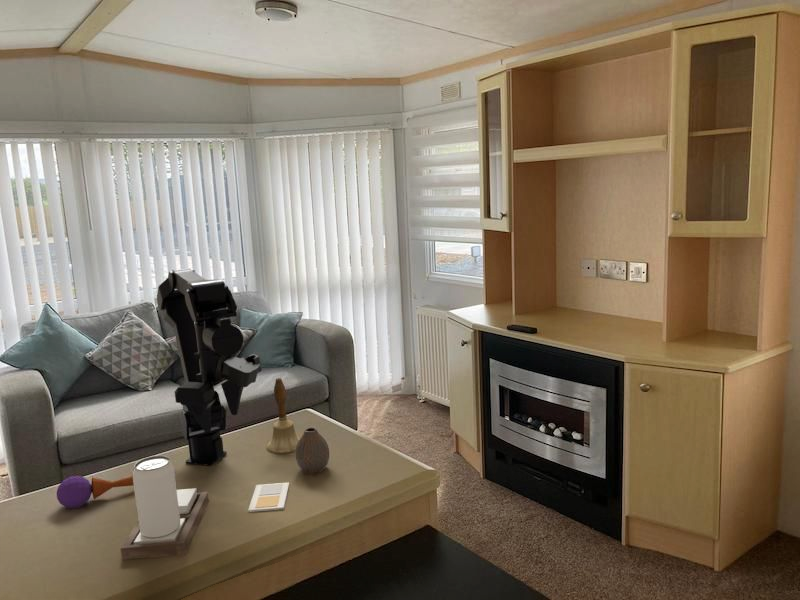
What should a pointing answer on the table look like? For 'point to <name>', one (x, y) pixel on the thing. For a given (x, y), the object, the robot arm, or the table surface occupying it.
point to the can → (156, 496)
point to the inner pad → (186, 499)
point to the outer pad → (168, 538)
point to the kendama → (85, 489)
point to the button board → (167, 547)
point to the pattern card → (269, 497)
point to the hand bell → (282, 425)
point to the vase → (312, 452)
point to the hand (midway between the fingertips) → (221, 423)
